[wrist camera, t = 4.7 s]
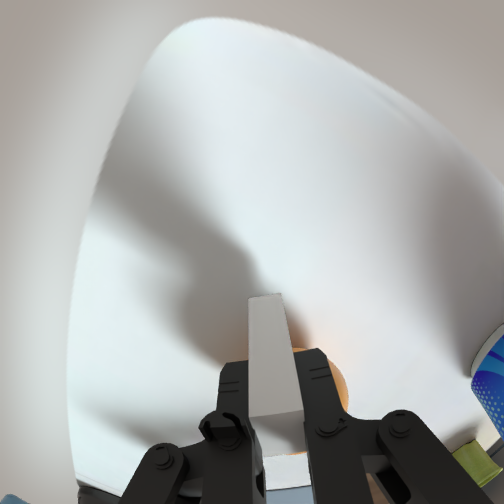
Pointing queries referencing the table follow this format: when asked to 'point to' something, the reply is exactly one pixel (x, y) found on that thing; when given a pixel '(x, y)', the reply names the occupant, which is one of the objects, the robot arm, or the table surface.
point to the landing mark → (290, 496)
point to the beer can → (491, 378)
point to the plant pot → (476, 463)
